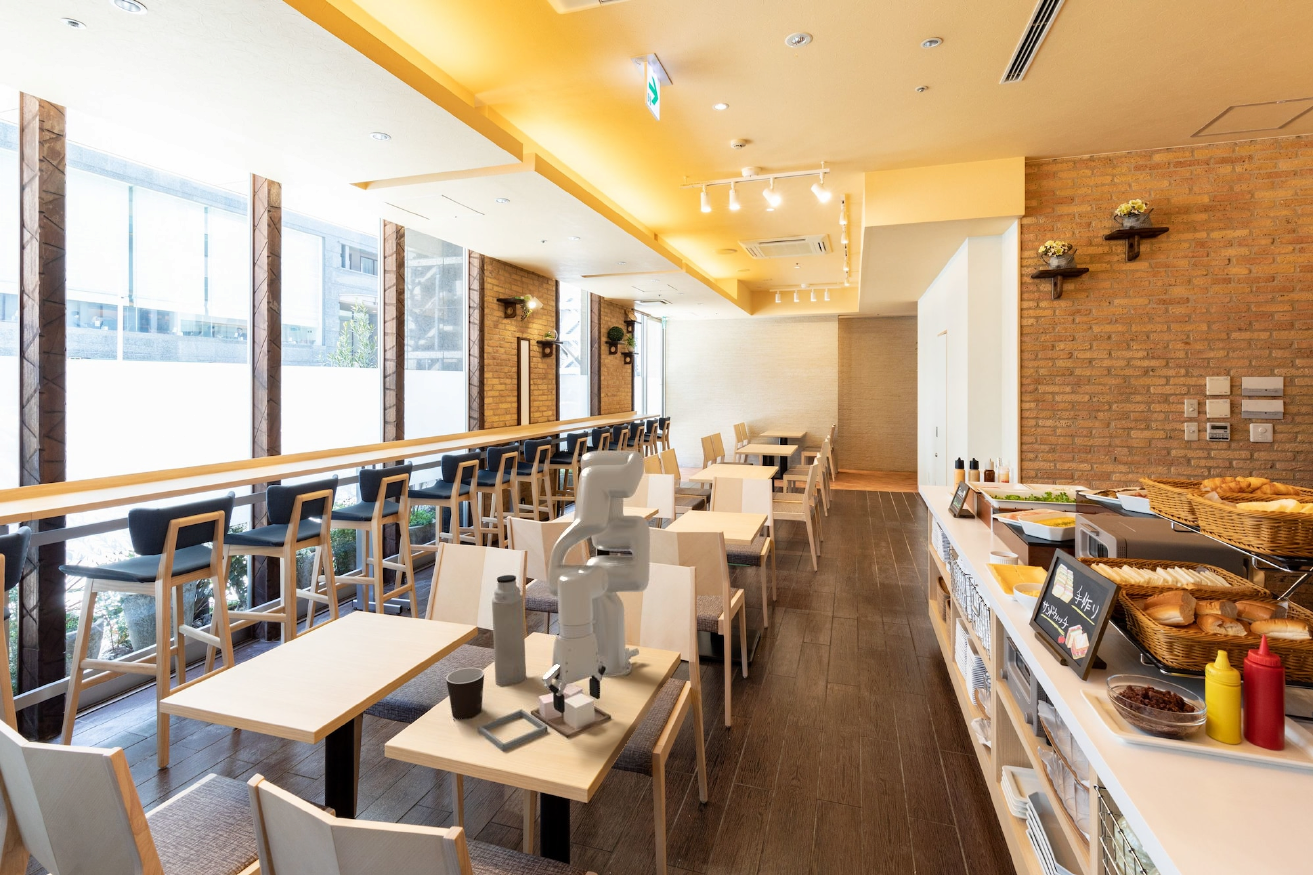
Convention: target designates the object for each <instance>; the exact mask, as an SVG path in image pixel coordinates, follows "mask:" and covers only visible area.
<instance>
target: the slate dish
mask: <svg viewBox="0 0 1313 875" xmlns="http://www.w3.org/2000/svg"><path fill="white" fill-rule="evenodd" d="M520 717H521V718H522V719H524V720H526V721H527V722H529V723H530V724H532V725H533V726H535V727H536V729H534V730H532V731H530V732H527V733H524V734H522V735H520V736H517V737H516V738H513V739H511V740H508V741H506V742H504V743H503V741H502V740H501V739H499V738H498V737H496V736H495V735H493V734H492V733H491V732H490V731H489V730H490V729H493V728H495V727H497V726H500V725H503V724H506V723H507V722H510V721H512V720H516V719H518V718H520ZM477 733H479V734H480V735H481V736H482V737H484V739H487V740H488V741H489V742H490V743H491V744H493V745H494V746H495V747H497V748H498V749H499V750H501V752H505V751H507V750H509V749H512V748H514V747H516V746H518V745H521V744H522V743H525V742H527V741H531V740H532V739H535V738H537V737H538V736H541V735H543V734H546V733H548V725H546V724H545V723H543V722H542V721H540V720H539V719H537V718H536V717H534V716H532V715H531V713H528V712H527V711H525V710H523V709H522V708H521V709H518V710H516V711H513V712H511V713H508V714H506V715H503V716H501V717H498V718H497V719H494V720H491V721H488V722H486V723H483V724H480V725H479V726H477Z"/></svg>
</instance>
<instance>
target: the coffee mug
mask: <svg viewBox="0 0 1313 875" xmlns="http://www.w3.org/2000/svg"><path fill="white" fill-rule="evenodd" d="M484 679H485V671H484V670H483V669H482V668H479V667H464V668H459V669H456V670H453V671H451V672H450V673H448V674H447V675H446V677H445V680H446V685H447V691H448V698H449V703H450V709H451V715H452V717H453V722H456V720H463V721H464V720H470V719H473V718H476V717H477V716H479V715H480V714H481V713H482V710H483V708H482V707H483V696H484V681H485V680H484ZM455 719H456V720H455Z"/></svg>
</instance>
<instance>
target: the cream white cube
mask: <svg viewBox="0 0 1313 875" xmlns="http://www.w3.org/2000/svg"><path fill="white" fill-rule="evenodd" d="M594 706H595V699H593V698H592V697H589V696H587V695H585V694H584V693H583V694H582V693H580V694H577V695H575V696H573V697H570V698H568V699H565V712H564V722H565V723H567V724H568V725H570V726H571V727H573V728H575V729H578V728H581V727H583V726H585V725H587V724H589V723H592V722H594V721H595V714H594Z"/></svg>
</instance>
